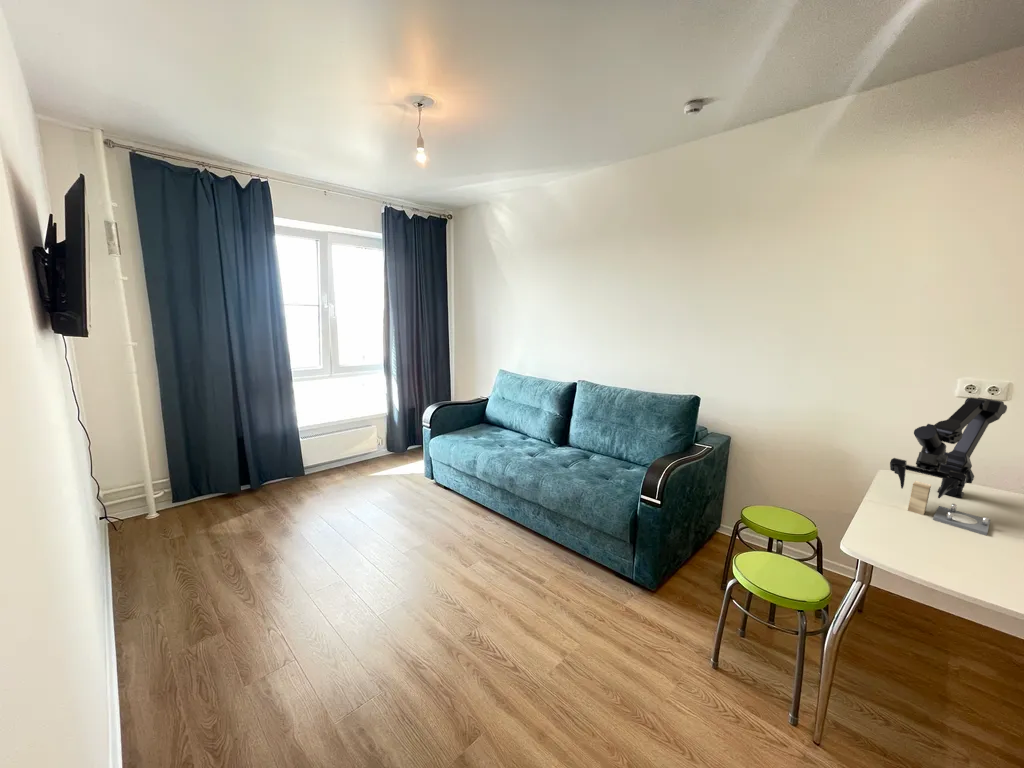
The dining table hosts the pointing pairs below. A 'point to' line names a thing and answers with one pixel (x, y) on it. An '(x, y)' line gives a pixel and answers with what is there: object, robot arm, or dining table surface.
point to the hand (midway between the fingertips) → (919, 492)
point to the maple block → (919, 497)
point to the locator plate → (962, 519)
